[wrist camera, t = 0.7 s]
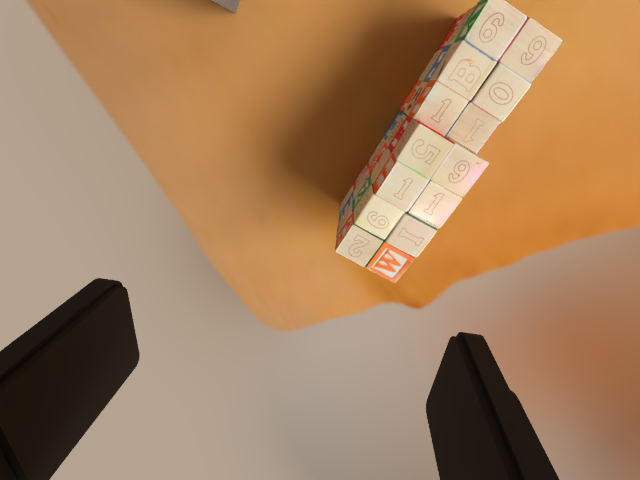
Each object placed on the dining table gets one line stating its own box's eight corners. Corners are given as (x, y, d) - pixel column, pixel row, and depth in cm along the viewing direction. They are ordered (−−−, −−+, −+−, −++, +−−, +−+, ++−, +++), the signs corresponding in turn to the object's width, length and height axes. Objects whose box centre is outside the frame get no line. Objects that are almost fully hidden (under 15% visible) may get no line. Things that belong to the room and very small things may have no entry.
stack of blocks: (456, 14, 30) (514, -24, 19) (510, 52, 31) (596, 35, 20) (339, 205, 39) (333, 253, 28) (383, 229, 40) (394, 286, 29)
